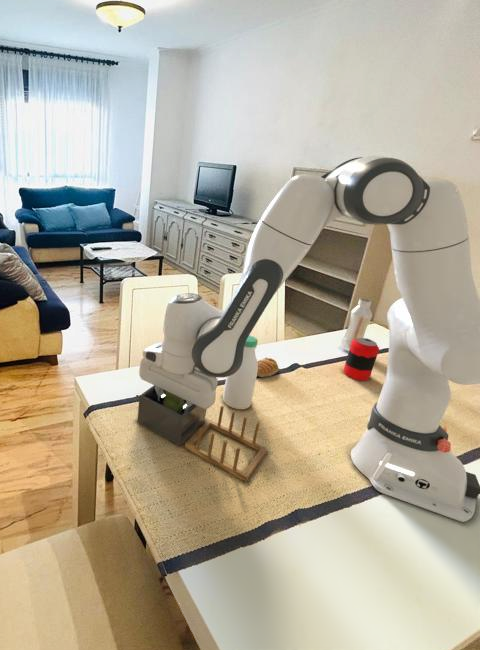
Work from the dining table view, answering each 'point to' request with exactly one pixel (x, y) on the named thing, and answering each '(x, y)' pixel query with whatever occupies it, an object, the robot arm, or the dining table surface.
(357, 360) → the soda can
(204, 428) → the drying rack
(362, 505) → the dining table surface
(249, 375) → the milk bottle
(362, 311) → the plastic bottle
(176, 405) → the pear
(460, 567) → the dining table surface
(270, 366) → the pastry
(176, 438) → the dark grey open box
